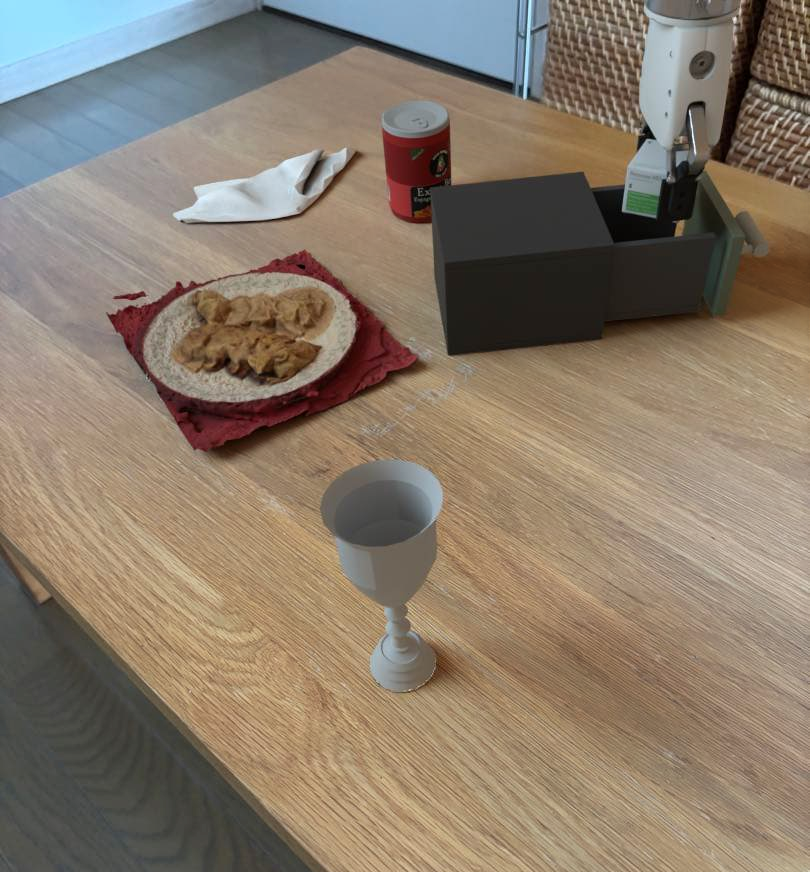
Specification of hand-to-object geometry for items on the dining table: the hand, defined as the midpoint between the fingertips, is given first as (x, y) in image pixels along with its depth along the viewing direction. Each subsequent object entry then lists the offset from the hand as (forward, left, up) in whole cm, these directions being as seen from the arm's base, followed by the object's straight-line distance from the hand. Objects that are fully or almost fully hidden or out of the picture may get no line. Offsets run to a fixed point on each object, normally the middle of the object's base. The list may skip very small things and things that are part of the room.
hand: (661, 195), depth 82 cm
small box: (0, 0, -1) cm, 1 cm away
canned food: (+22, -22, -11) cm, 33 cm away
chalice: (+29, +42, -11) cm, 52 cm away
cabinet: (+14, 0, -11) cm, 18 cm away
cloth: (+40, -29, -11) cm, 51 cm away
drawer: (-1, 0, -10) cm, 10 cm away
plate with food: (+41, +2, -11) cm, 42 cm away
